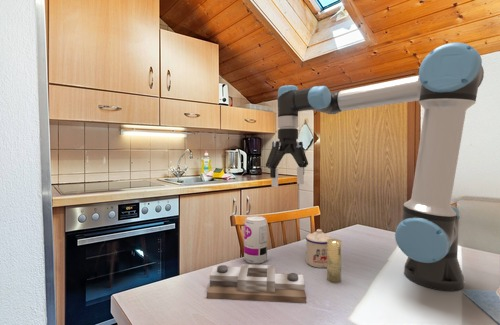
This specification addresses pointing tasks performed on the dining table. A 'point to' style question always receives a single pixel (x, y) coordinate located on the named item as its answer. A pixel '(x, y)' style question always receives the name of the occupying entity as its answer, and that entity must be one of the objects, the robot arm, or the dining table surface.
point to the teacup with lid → (317, 249)
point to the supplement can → (255, 239)
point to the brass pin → (334, 260)
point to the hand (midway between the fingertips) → (288, 185)
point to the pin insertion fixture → (256, 284)
